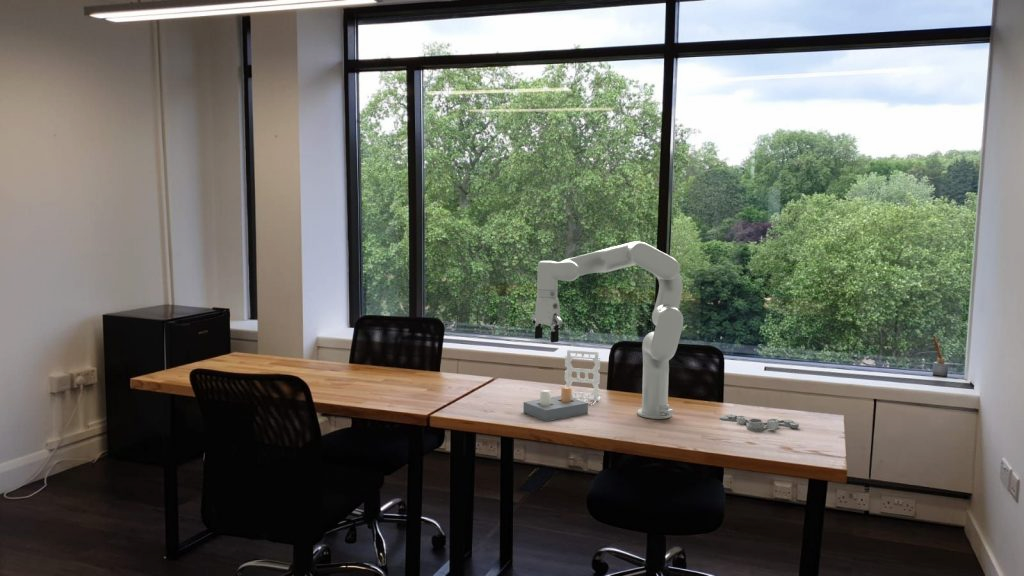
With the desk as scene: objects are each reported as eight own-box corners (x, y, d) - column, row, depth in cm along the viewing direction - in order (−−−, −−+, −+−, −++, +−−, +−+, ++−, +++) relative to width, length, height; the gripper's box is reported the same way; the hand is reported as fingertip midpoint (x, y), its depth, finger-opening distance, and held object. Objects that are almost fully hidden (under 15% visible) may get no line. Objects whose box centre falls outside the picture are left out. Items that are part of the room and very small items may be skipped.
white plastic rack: (559, 402, 286) (560, 353, 284) (568, 394, 299) (569, 347, 297) (595, 406, 282) (596, 356, 280) (602, 398, 295) (603, 350, 293)
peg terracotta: (565, 412, 270) (566, 389, 270) (558, 410, 274) (559, 387, 273) (573, 411, 273) (574, 388, 272) (566, 409, 276) (567, 386, 275)
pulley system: (796, 439, 244) (799, 426, 257) (796, 426, 243) (799, 413, 257) (714, 431, 256) (721, 418, 269) (714, 418, 255) (721, 406, 269)
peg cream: (544, 416, 265) (544, 392, 264) (537, 414, 268) (538, 390, 267) (552, 415, 267) (553, 391, 266) (546, 412, 270) (546, 389, 269)
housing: (587, 413, 270) (588, 402, 270) (545, 421, 259) (545, 410, 259) (564, 405, 282) (564, 395, 281) (523, 412, 270) (523, 401, 270)
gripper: (570, 295, 258) (569, 342, 260) (541, 291, 273) (540, 336, 274) (553, 296, 254) (552, 344, 256) (525, 292, 268) (524, 337, 270)
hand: (546, 340), depth 265 cm, fingers open, 9 cm apart
